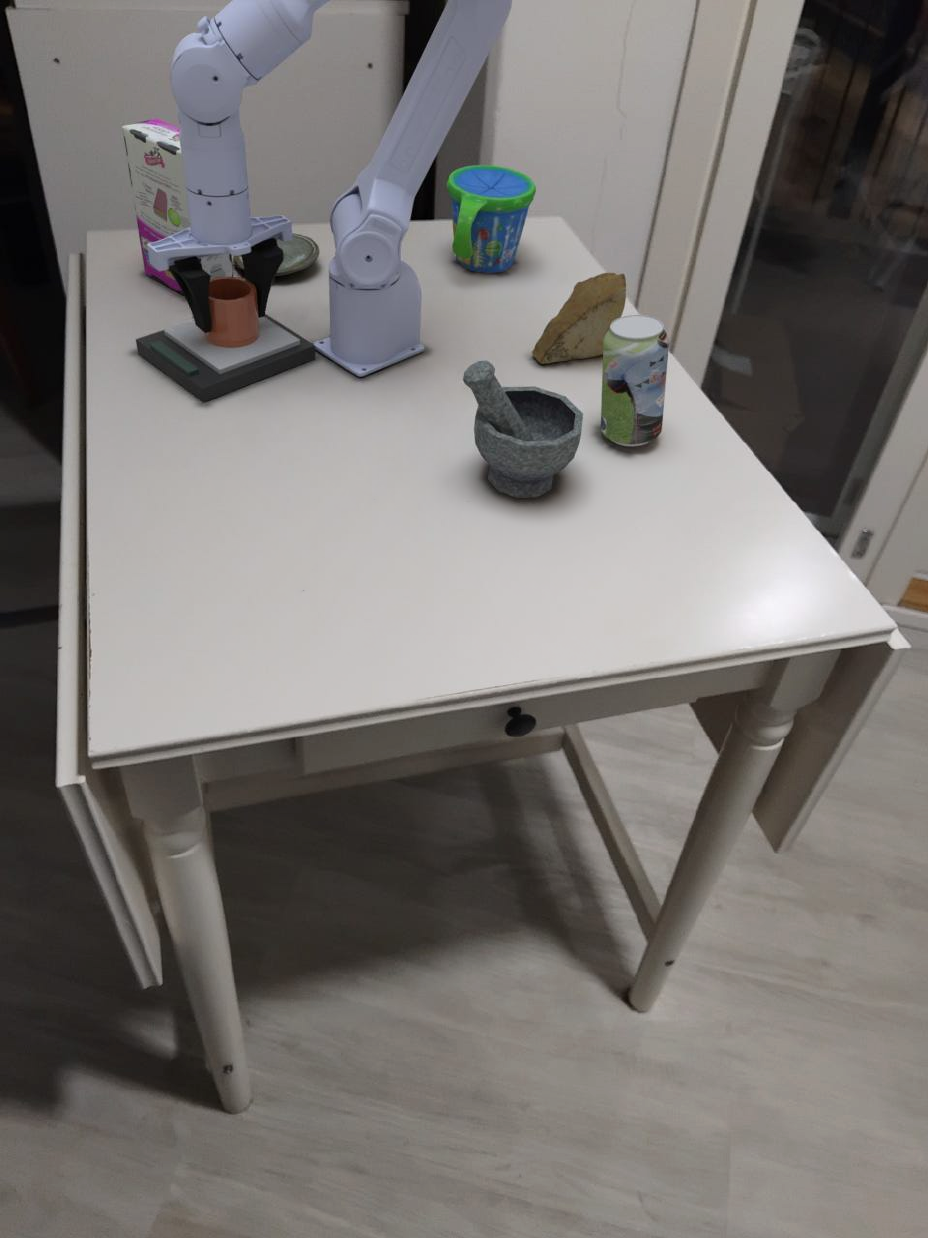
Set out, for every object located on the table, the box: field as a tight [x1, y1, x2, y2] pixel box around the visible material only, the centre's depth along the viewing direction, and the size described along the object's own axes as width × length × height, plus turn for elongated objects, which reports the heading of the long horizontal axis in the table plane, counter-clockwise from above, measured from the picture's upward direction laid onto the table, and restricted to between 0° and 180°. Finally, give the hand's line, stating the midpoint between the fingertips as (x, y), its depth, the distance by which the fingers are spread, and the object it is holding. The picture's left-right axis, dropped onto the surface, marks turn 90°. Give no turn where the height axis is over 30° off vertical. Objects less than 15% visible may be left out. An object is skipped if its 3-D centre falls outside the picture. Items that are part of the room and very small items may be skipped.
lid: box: [232, 232, 320, 277], centre depth 114 cm, size 11×10×5 cm
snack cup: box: [446, 164, 537, 274], centre depth 117 cm, size 16×10×10 cm
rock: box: [531, 272, 627, 365], centre depth 104 cm, size 11×9×10 cm
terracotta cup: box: [204, 276, 259, 348], centre depth 97 cm, size 6×6×5 cm
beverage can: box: [600, 314, 670, 447], centre depth 91 cm, size 6×7×12 cm
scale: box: [135, 313, 316, 403], centre depth 99 cm, size 14×12×2 cm
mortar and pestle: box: [462, 360, 584, 499], centre depth 84 cm, size 11×9×12 cm
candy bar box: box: [121, 118, 235, 296], centre depth 105 cm, size 11×5×16 cm, turn 49°
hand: (230, 320), depth 98 cm, fingers closed on terracotta cup, 5 cm apart
